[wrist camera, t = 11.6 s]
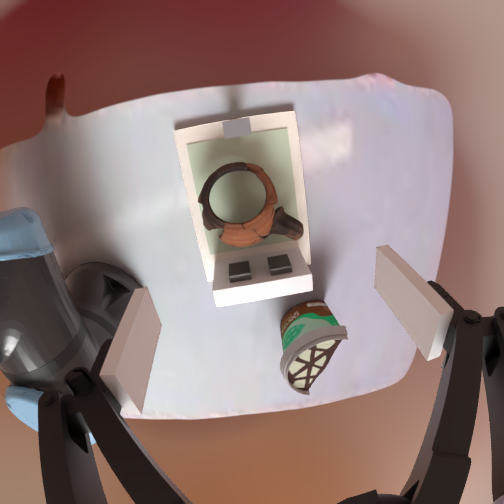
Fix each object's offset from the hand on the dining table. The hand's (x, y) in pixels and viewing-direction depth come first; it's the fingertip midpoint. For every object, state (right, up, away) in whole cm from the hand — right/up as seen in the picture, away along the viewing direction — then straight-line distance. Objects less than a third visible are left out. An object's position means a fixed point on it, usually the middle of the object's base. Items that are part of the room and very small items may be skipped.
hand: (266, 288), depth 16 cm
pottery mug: (-1, +8, +20) cm, 21 cm away
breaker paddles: (0, +1, +20) cm, 20 cm away
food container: (+6, -9, +29) cm, 31 cm away
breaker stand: (-1, +8, +20) cm, 22 cm away
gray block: (-3, +16, +15) cm, 23 cm away
